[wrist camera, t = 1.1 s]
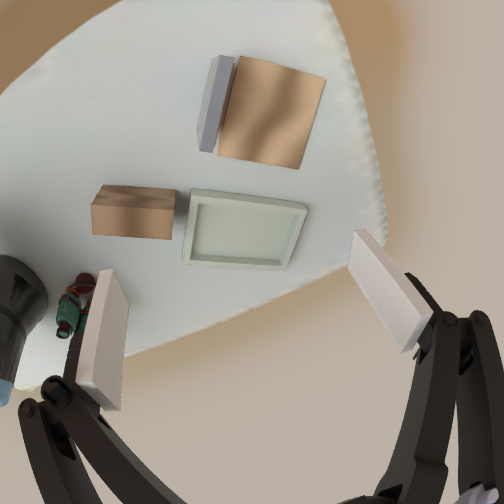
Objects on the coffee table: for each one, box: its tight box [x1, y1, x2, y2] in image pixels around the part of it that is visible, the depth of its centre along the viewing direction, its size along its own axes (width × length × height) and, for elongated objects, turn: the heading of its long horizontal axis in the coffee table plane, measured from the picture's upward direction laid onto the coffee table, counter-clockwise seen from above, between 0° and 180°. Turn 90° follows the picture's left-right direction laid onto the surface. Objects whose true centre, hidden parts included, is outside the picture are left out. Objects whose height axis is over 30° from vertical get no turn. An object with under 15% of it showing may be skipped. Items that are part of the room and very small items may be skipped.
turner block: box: [91, 185, 176, 240], centre depth 34 cm, size 10×4×6 cm, turn 77°
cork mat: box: [217, 56, 325, 169], centre depth 33 cm, size 11×13×1 cm
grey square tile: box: [197, 55, 234, 153], centre depth 27 cm, size 1×9×10 cm, turn 167°
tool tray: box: [182, 188, 308, 271], centre depth 42 cm, size 16×11×2 cm
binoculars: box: [56, 273, 97, 339], centre depth 39 cm, size 9×11×10 cm
